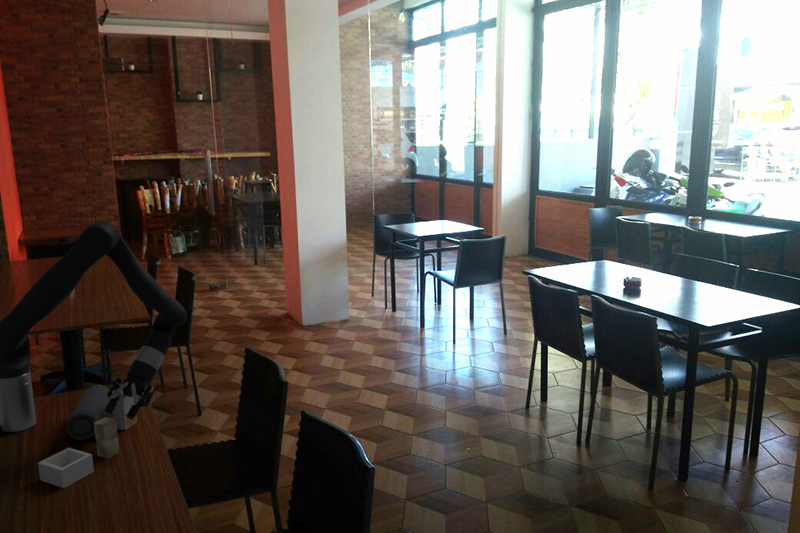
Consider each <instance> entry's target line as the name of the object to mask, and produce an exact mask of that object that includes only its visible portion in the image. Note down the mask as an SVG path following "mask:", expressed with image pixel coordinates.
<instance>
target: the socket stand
mask: <svg viewBox="0 0 800 533" xmlns="http://www.w3.org/2000/svg"><path fill="white" fill-rule="evenodd" d="M37 466H38V472H39V480H40V481H42V482H44V483H48V484H50V485H53V486H56V487H60V488H62V489H65V488H67V487H69V486H71V485H72V484H74V483H76V482H78V481H79V480H81V479H83V478H85V477H86V476H88V475H89V476H90V474H92V473H94V472H95V468H94V467H95V466H94V460H93V454H91V453H88V452H85V451H82V450H78V449H75V448H72V447H67V448H64V449H63V450H61V451H59V452H57V453H54V454H53V455H51V456H48V457H47V458H45V459H43V460H41V461H38V463H37Z"/></svg>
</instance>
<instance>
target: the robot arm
mask: <svg viewBox="0 0 800 533" xmlns="http://www.w3.org/2000/svg"><path fill="white" fill-rule="evenodd" d="M104 256H106V257H108V258H109V259H110V260H111V261H112V262H113V263H114V264H115V265H116V266H117V268H118V269H119V271H120V273H121V274H122V277H123V278H124V280H125V282H126V283H127V285H128V287H129V288H130V289H131V291H132V292H133V293H134V294H135V296H136V297H137V298H138V299H139V300H140V302H142V303H143V305H144V306H146V307H147V308H150V309H153V310H154V311H156V313H158V314H157V316H156V317H155V318H154V322H153V324H152V327H151V329H150V333H149V334H148V336H147V337H146V339H145V340H144V343H143V345H142V346H141V348H140V350H138V352H137V354H136V355H135V357H134V359H133V360H132V362H131V364H130V366H129V368H128V370H127V372H126V375H127V376H126V378H125V379H122V378H120V377H117V378H116V379H115V380H114V382H113V383H112V386H111V387H110V388H109V391H108V393H107V396H108V397H109V398H110V401H109V403H108V404H107V406H106V408H105V412H106V413H107V414H109V415H113V413H112V412H113V410H114V409H115V407H116V405H117V402H118V401H119V400H121V399H122V398H125V397H133V399H134V405H132V406H131V408H130V410H129V412H128V414H127V416H126V417H127V418H129V419H131V420H132V419H133V418H134V417H135V416H137V415H138V413H139V410H140V409H141V408H143V407H145V408H147V407H148V406H149V404H150V402H151V400H152V397H153V396H154V394H155V392H156V387H155V386H153V385H152V382H153V381H154V378H155V377H156V374H157V373H158V372H159V369H160V367H161V366H162V363H163V360H164V358H165V356H166V354H167V353H168V350H169V349H170V347H171V345H172V341H173V340H172V337H173V334H174V332H175V330H176V328H179V327H182V326H183V325H184V324H185V323H186V322H187V319H188V313H187V311H186V309H185V308H184V306H183V305H182V304H181V303H180V302H179V301H178V300H176V298H174V297H173V296H172V295H170V294H168V293H167V292H166V291H165V290H164V288H163V287H162V286H161V285H160V284H159V283H158V281H156V279H154V277H153V276H152V275H151V274H150V273H149V272H148V271H147V269H146V268H145V267H144V266H143V265H142V263H141V262H140V261H139V260H138V258H137V257H136V255H135V254H134V253H133V251H132V249H131V248H130V247H129V246H128V244H127V242H126V240H125V238H123V236H122V234H121V233H120V231H119V230H118V228H117V227H116V226H115V225H114V224H113V223H111V222H109V221H105V220H104V221H103V220H101V221H97V222H95V223H92V224H90V225H89V226H87V227H85V229H83V230H82V232H81V234H80V235H79V236H78V237H77V239H76V240H75V242H74V243H73V244H72V246H71V247H70V248H69V250H68V251H67V252H66V253H65V254H64V255H63V256H62V257H61V258H60V259H59V260H57V262H55V263H54V264H53V265H52V266H51V267H50V268H48V269H47V271H46V272H44V273H43V274H42V275H41V276H40V277H39V279H37V280H36V282H35V283H33V285H32V286H31V288H29V290H28V291H27V292H26V293H25V294H24V296H22V298H21V299H20V300H19V301H18V303H17V304H16V306H15V307H14V308H13V309H12V310H11V311H10V312H9V314H7V315H6V316H5V317H4V318H3V319H1V321H0V427H1V430H2V431H4V432H7V433H15V432H20V431H24V430H27V429H28V430H29V429H30V428H32V427H33V426H35V425H36V424H37V416H36V409H35V399H34V392H33V384H32V375H31V369H30V365H31V364H30V363H31V360H32V354H31V353H32V352H31V342H30V340H31V339H30V335H29V332H30V331H31V330H32V329H33V327H35V326H36V325H37V324H38V323H40V322H41V321H42V320H44V319H45V318H46V317H47V316H48V315H51V313H53V311H55V310H56V309H57V308H58V307H60V305H61V304H63V302H64V301H65V300H67V298H68V297H69V296H70V295H71V294H72V293H73V291H74V290H75V288H77V286H78V285H79V283H80V281H81V280H82V278H83V276H84V275H85V273H86V272H87V271H88V270H89V269H90V268H91V267H92V266H93V265H94V264H96V263H97V262H98V261H99V260H100V259H102V258H103V257H104ZM113 391H114V393H113ZM122 391H123V393H122ZM112 393H113V394H112ZM117 396H118V397H117Z"/></svg>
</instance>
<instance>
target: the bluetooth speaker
mask: <svg viewBox="0 0 800 533" xmlns="http://www.w3.org/2000/svg"><path fill="white" fill-rule="evenodd" d="M109 390H110V388H108V387H107V386H105V385H103V384H93V385H91V386H90V387H89V388H87V389H86V390H85V391H84V392H83V393H82V395H81V397H80V398H79V400H78V401H77V403H76V404H75V405H74V407H73V410H72V412H71V414H70V415H69V418H68V419H67V422H66V432H67V434H68V435H69V436H70V437H71V438H72V439H74V440H77V441H84V440H85V441H86V440H89V439H91V438H92V437H93V436H95V428H94V422H96V421H98V420H101V419H103V418H105V417H107V416H106V415H107V414H108V413H106V412H105V408H106V406H107V404H108V403H109V401H110V398H109V397H108V396H107V393H108V391H109Z"/></svg>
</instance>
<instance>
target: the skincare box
mask: <svg viewBox="0 0 800 533" xmlns="http://www.w3.org/2000/svg"><path fill="white" fill-rule="evenodd" d="M114 391H115V390H114ZM114 391H113V393H114ZM113 393H112V394H113ZM122 393H123V391H122ZM117 397H118V396H117ZM132 405H134V399H133V397H125V398H122V399H121V400H119V401H118V402H117V405H116V407H115V409H114V410H113V412H112V419H116V424H117V430H120V431H121V430H122V431H126V430H128V429H129V428H131V427H132V426H133V425H135V424H136V423H138V419H137V415H136V416H135V417H134V418H133V419H132V420H131V419H129V418H127V417H126V416H127V414H128V412H129V410H130V408H131V406H132Z"/></svg>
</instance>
